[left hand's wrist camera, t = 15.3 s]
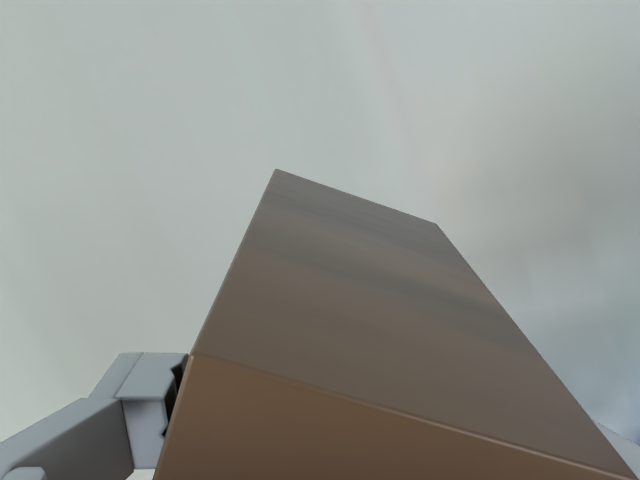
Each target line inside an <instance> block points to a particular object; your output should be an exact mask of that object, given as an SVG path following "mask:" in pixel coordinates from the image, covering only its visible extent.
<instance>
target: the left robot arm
mask: <svg viewBox="0 0 640 480" xmlns="http://www.w3.org/2000/svg"><path fill="white" fill-rule="evenodd" d="M188 358H189V355H188V354H186V353H122V354H119V355H118V356H117V358H116V359H115V361H114V362H113V363H112V365H111V366H110V368H109V369H108V370H107V372H106V373H105V375H104V376H103V377H102V379H101V380H100V381H99V383H98V384H97V386H96V387H95V388H94V390H93V391H92V393H91V394H90V395H89V397H88V398H80V399H79V400H77V401H75V402H73V403H71V404H70V405H68V406H66V407H64V408H62V409H61V410H59V411H57V412H55V413H53V414H52V415H50V416H48V417H46V418H44V419H43V420H41V421H39V422H37V423H35V424H34V425H32V426H30V427H28V428H26V429H25V430H23V431H21V432H19V433H17V434H16V435H14V436H12V437H10V438H8V439H7V440H5V441H3V442H1V443H0V480H125V479H127V478H128V477H129V476H130V475H131V474H132V473H133V472H134V470H133V469H156V466H157V463H158V459H159V456H160V453H161V449H162V446H163V443H164V439H165V436H166V432H167V429H168V426H169V422H170V419H171V416H172V412H173V409H174V406H175V402H176V399H177V395H178V392H179V389H180V385H181V382H182V379H183V375H184V372H185V368H186V365H187V362H188ZM592 421H593V422H594V423H595V424H596V426H597V427H598V428H599V429H600V431H601V432H602V433H603V434H604V436H605V437H606V438H607V440H608V441H609V442H610V443H611V445H612V446H613V447H614V448H615V450H616V451H617V452H618V453H619V455H620V456H621V457H622V458H623V460H624V461H625V462H626V463H627V465H628V466H629V467H630V469H631V470H632V471H633V472H634V474H635V475H636V476H637V477H638V479H639V480H640V446H638V445H636V444H635V443H633V442H631V441H629V440H628V439H626V438H624V437H622V436H620V435H619V434H617V433H615V432H613V431H612V430H610V429H608V428H606V427H604V426H603V425H601V424H599V423H597V422H596V421H594V420H592Z"/></svg>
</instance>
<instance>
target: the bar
mask: <svg viewBox="0 0 640 480" xmlns="http://www.w3.org/2000/svg"><path fill="white" fill-rule="evenodd" d="M153 480H639V479H638V477H637V476H636V475H635V474H634V472H633V471H632V470H631V469H630V467H629V466H628V465H627V463H626V462H625V461H624V460H623V458H622V457H621V456H620V455H619V453H618V452H617V451H616V450H615V448H614V447H613V446H612V445H611V443H610V442H609V441H608V440H607V438H606V437H605V436H604V434H603V433H602V432H601V431H600V429H599V428H598V427H597V426H596V424H595V423H594V422H593V421H592V419H591V418H590V417H589V416H588V414H587V413H586V412H585V411H584V409H583V408H582V407H581V405H580V404H579V403H578V402H577V400H576V399H575V398H574V397H573V395H572V394H571V393H570V392H569V390H568V389H567V388H566V387H565V385H564V384H563V383H562V382H561V380H560V379H559V378H558V376H557V375H556V374H555V373H554V371H553V370H552V369H551V368H550V366H549V365H548V364H547V363H546V361H545V360H544V359H543V358H542V356H541V355H540V354H539V353H538V351H537V350H536V349H535V347H534V346H533V345H532V344H531V342H530V341H529V340H528V339H527V337H526V336H525V335H524V334H523V332H522V331H521V330H520V329H519V327H518V326H517V325H516V324H515V322H514V321H513V320H512V318H511V317H510V316H509V315H508V313H507V312H506V311H505V310H504V308H503V307H502V306H501V305H500V303H499V302H498V301H497V300H496V298H495V297H494V296H493V295H492V293H491V292H490V291H489V289H488V288H487V287H486V286H485V284H484V283H483V282H482V281H481V279H480V278H479V277H478V276H477V274H476V273H475V272H474V271H473V269H472V268H471V267H470V266H469V264H468V263H467V262H466V260H465V259H464V258H463V257H462V255H461V254H460V253H459V252H458V250H457V249H456V248H455V247H454V245H453V244H452V243H451V242H450V240H449V239H448V238H447V237H446V235H445V234H444V233H443V231H442V230H441V229H440V228H439V226H438V225H437V224H435V223H432V222H429V221H427V220H424V219H421V218H418V217H415V216H412V215H409V214H406V213H403V212H400V211H398V210H395V209H392V208H389V207H386V206H383V205H380V204H377V203H374V202H371V201H369V200H366V199H363V198H360V197H357V196H354V195H351V194H348V193H345V192H342V191H339V190H337V189H334V188H331V187H328V186H325V185H322V184H319V183H316V182H313V181H310V180H308V179H305V178H302V177H299V176H296V175H293V174H290V173H287V172H284V171H281V170H279V169H275V170H274V172H273V174H272V177H271V179H270V181H269V183H268V185H267V188H266V190H265V192H264V194H263V196H262V198H261V201H260V203H259V205H258V207H257V209H256V211H255V214H254V216H253V218H252V220H251V222H250V224H249V227H248V229H247V231H246V233H245V235H244V237H243V240H242V242H241V244H240V246H239V248H238V250H237V253H236V255H235V257H234V259H233V261H232V263H231V266H230V268H229V270H228V272H227V274H226V276H225V279H224V281H223V283H222V285H221V287H220V290H219V292H218V294H217V296H216V298H215V300H214V303H213V305H212V307H211V309H210V311H209V313H208V316H207V318H206V320H205V322H204V324H203V326H202V329H201V331H200V333H199V335H198V337H197V339H196V342H195V344H194V346H193V348H192V350H191V352H190V355H189V358H188V362H187V365H186V368H185V372H184V375H183V379H182V382H181V385H180V389H179V392H178V395H177V399H176V402H175V406H174V409H173V412H172V416H171V419H170V422H169V426H168V429H167V432H166V436H165V439H164V443H163V446H162V449H161V453H160V456H159V459H158V463H157V466H156V470H155V473H154V476H153Z"/></svg>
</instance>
